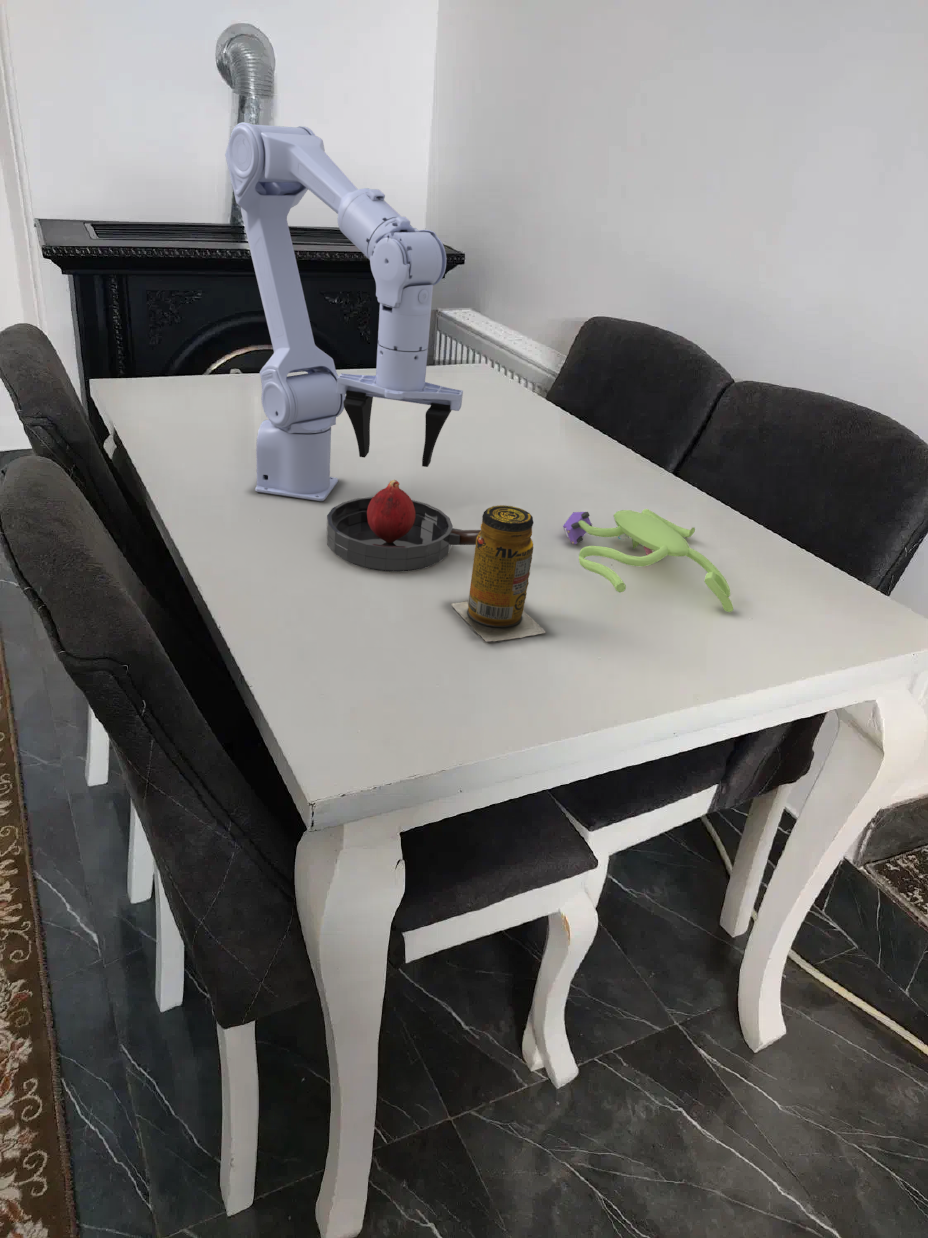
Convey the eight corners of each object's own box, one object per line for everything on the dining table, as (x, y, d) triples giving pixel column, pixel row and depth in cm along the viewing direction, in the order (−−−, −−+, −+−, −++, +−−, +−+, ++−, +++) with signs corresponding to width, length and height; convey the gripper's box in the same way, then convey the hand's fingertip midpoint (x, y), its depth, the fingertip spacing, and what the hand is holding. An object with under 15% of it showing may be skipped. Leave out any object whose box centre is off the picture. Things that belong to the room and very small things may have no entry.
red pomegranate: (406, 556, 109) (410, 493, 105) (359, 548, 110) (362, 485, 106) (417, 537, 114) (422, 476, 110) (373, 529, 115) (376, 468, 111)
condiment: (508, 597, 104) (521, 498, 98) (546, 634, 98) (563, 530, 92) (450, 605, 101) (460, 504, 95) (485, 644, 94) (498, 538, 89)
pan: (311, 562, 107) (312, 536, 105) (344, 513, 120) (345, 489, 118) (438, 582, 105) (441, 555, 104) (457, 530, 118) (460, 506, 117)
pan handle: (443, 546, 110) (445, 522, 109) (446, 539, 112) (448, 515, 111) (523, 558, 110) (526, 534, 108) (524, 551, 111) (528, 527, 110)
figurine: (577, 615, 102) (586, 570, 99) (552, 518, 125) (558, 479, 122) (740, 627, 103) (752, 583, 100) (684, 529, 126) (693, 491, 124)
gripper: (331, 344, 101) (327, 461, 108) (460, 362, 100) (448, 479, 107) (347, 331, 107) (343, 442, 114) (469, 348, 106) (458, 459, 113)
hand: (395, 459), depth 111 cm, fingers open, 7 cm apart
